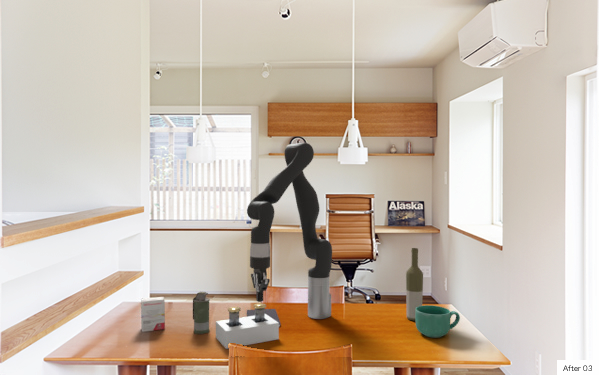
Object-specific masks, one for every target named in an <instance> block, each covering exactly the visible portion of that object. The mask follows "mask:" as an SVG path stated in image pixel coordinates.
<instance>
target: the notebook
mask: <svg viewBox="0 0 599 375" xmlns="http://www.w3.org/2000/svg"><path fill="white" fill-rule="evenodd" d="M265 314H267V315H268V316H270V317H271V318H272V319H274V320H275V321H277V322H278V323H279V328H280V327H281V321H280V318H279V316H278V312H277V310H276V308H265ZM248 316H255V309H246V317H248Z"/></svg>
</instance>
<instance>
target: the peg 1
mask: <svg viewBox="0 0 599 375" xmlns="http://www.w3.org/2000/svg"><path fill="white" fill-rule="evenodd" d="M241 310H242V309H241V307H239V306H231V307H228V308H227V312H228V319H229V327H234V326H239V318H240V312H241Z"/></svg>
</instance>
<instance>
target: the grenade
mask: <svg viewBox="0 0 599 375" xmlns="http://www.w3.org/2000/svg"><path fill="white" fill-rule="evenodd" d="M208 295H209V293H208V292H206V291H198V292H197V293H196V295H195V296H194V297H193V298H192V320H193V333H194V334H197V335H203V334H207V333H210V298H209V297H207V296H208Z"/></svg>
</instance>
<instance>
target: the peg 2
mask: <svg viewBox="0 0 599 375" xmlns="http://www.w3.org/2000/svg"><path fill="white" fill-rule="evenodd" d="M253 308H254V310H255V323H259V322H265V309H266V308H267V304H266V303H262V302H258V303H255V304H253Z"/></svg>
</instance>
